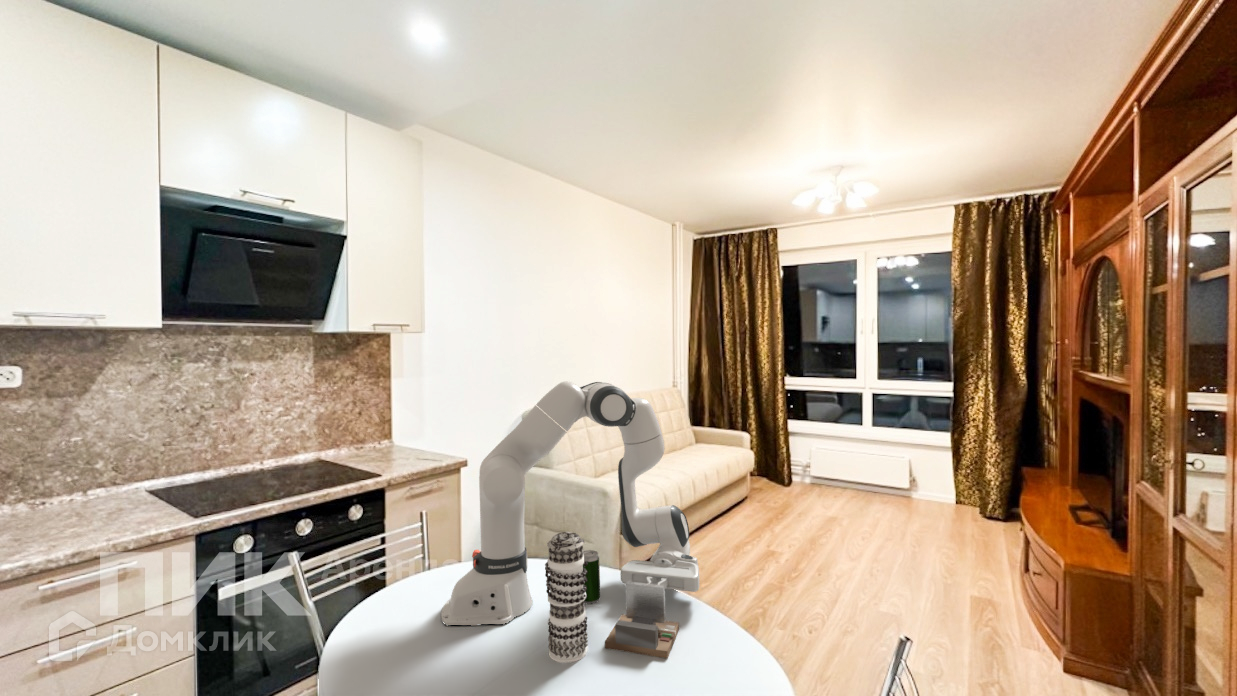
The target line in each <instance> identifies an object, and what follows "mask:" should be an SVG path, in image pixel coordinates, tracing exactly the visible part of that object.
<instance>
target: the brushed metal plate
mask: <svg viewBox="0 0 1237 696" xmlns="http://www.w3.org/2000/svg"><path fill="white" fill-rule="evenodd" d="M665 590H666V589H665V586H663V585H655V584H647V583H638V582H630V581H627V582H626V584H625V607H626V608H625V609H626V614H625V615H626V616H627V618H630V619H633V620H632V621H631V622H635V623H642V624H649V625H656V622H658V623H665V621H667V620H666V619H667V618H666V591H665ZM658 632H660V633H667V634H673V635H676V631H675V630H668V629H661V628H658Z"/></svg>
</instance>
